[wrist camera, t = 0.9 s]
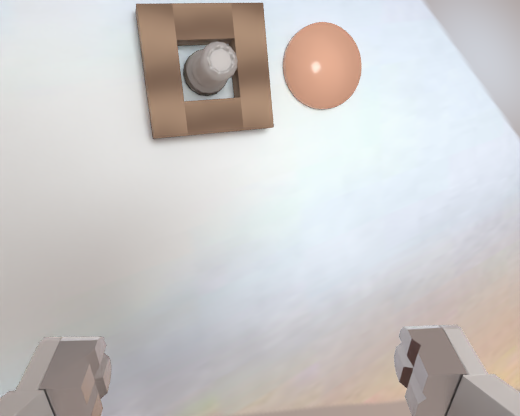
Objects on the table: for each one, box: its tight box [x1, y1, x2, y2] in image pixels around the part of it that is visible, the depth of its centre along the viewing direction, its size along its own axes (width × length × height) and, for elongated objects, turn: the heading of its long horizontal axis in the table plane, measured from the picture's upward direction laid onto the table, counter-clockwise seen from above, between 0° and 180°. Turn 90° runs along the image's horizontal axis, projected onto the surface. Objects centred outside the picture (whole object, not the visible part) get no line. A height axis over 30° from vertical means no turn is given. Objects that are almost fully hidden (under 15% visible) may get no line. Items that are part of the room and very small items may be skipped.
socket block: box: [136, 3, 274, 139], centre depth 42 cm, size 12×12×2 cm
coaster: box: [283, 22, 361, 109], centre depth 47 cm, size 9×9×1 cm
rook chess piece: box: [184, 41, 238, 96], centre depth 40 cm, size 4×4×8 cm
